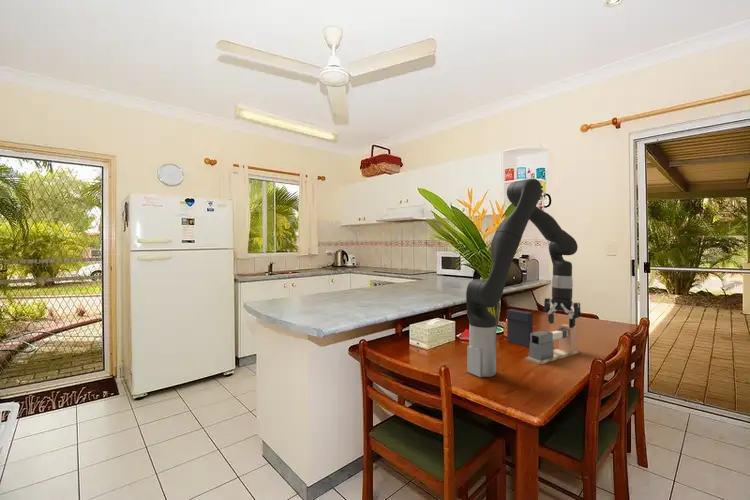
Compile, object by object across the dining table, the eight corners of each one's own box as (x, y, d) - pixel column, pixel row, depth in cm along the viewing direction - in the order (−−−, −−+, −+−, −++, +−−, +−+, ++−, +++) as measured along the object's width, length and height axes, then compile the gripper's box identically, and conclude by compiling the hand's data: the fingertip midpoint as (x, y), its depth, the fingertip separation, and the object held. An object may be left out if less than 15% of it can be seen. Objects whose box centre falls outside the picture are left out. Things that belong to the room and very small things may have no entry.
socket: (570, 352, 145) (570, 327, 144) (559, 348, 149) (559, 325, 149) (576, 350, 147) (576, 326, 147) (564, 347, 151) (564, 324, 151)
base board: (539, 364, 133) (539, 362, 133) (525, 360, 138) (525, 357, 138) (580, 352, 147) (580, 349, 147) (566, 348, 153) (566, 346, 153)
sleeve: (541, 360, 134) (541, 335, 134) (529, 357, 139) (529, 333, 138) (553, 357, 139) (553, 333, 138) (541, 353, 143) (541, 330, 143)
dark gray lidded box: (533, 346, 156) (533, 312, 156) (528, 347, 154) (528, 313, 154) (511, 340, 166) (512, 308, 165) (506, 341, 163) (506, 309, 163)
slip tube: (548, 342, 138) (548, 334, 138) (541, 340, 141) (541, 333, 141) (572, 335, 147) (572, 328, 147) (565, 334, 150) (565, 327, 149)
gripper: (540, 285, 149) (539, 323, 149) (574, 289, 137) (573, 330, 137) (551, 284, 153) (550, 321, 153) (584, 287, 141) (583, 328, 141)
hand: (561, 325), depth 145 cm, fingers open, 8 cm apart
